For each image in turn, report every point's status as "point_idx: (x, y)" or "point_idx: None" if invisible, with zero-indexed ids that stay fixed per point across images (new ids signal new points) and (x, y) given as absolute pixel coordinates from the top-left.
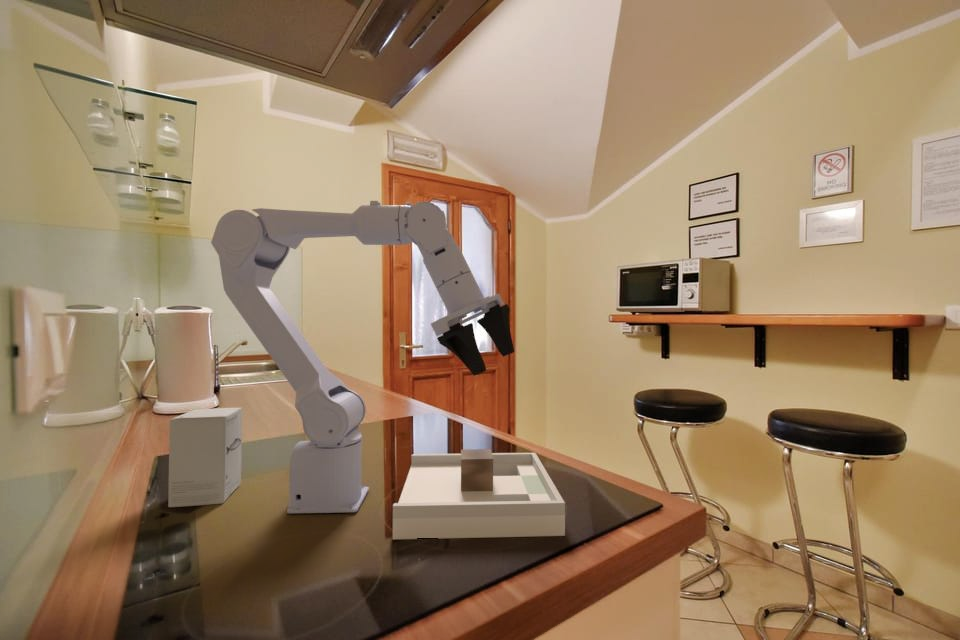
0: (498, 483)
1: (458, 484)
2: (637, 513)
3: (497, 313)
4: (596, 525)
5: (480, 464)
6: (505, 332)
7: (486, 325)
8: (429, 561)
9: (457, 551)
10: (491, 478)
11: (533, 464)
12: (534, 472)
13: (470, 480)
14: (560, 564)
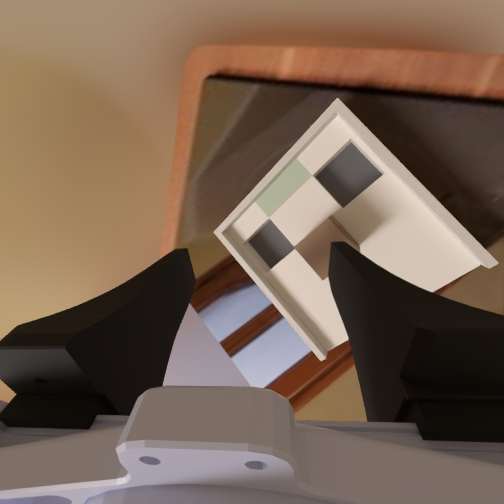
0: (307, 224)
1: None
2: (241, 85)
3: (104, 353)
4: (295, 101)
5: (341, 230)
6: (155, 283)
7: (153, 382)
8: (492, 186)
9: (450, 177)
10: (332, 217)
11: (234, 222)
12: (250, 210)
13: (351, 238)
14: (401, 74)
